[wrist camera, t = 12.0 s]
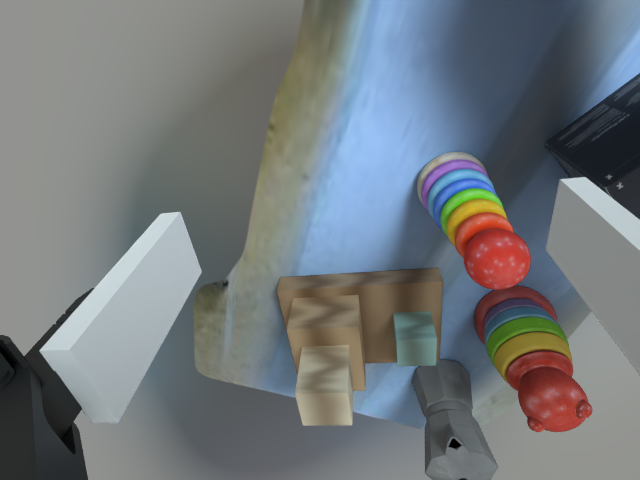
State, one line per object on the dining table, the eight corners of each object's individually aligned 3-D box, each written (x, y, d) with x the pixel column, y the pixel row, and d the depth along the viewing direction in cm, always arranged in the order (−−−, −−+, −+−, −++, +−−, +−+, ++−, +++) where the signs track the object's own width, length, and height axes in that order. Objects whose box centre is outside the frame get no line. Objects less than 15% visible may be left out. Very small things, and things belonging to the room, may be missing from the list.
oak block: (348, 345, 49) (348, 392, 43) (352, 376, 52) (352, 425, 46) (302, 346, 50) (295, 393, 44) (308, 377, 53) (302, 425, 47)
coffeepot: (403, 354, 62) (419, 470, 47) (464, 345, 60) (501, 463, 45) (420, 412, 70) (439, 529, 54) (475, 406, 68) (510, 525, 52)
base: (438, 267, 53) (452, 313, 45) (436, 345, 61) (447, 395, 53) (280, 277, 56) (268, 321, 48) (297, 350, 64) (289, 398, 56)
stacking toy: (448, 222, 49) (493, 330, 33) (401, 186, 47) (426, 283, 31) (499, 177, 45) (577, 274, 30) (451, 135, 43) (507, 215, 28)
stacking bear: (484, 345, 60) (528, 462, 45) (458, 301, 56) (497, 414, 41) (558, 320, 56) (632, 439, 41) (536, 271, 52) (610, 383, 37)
